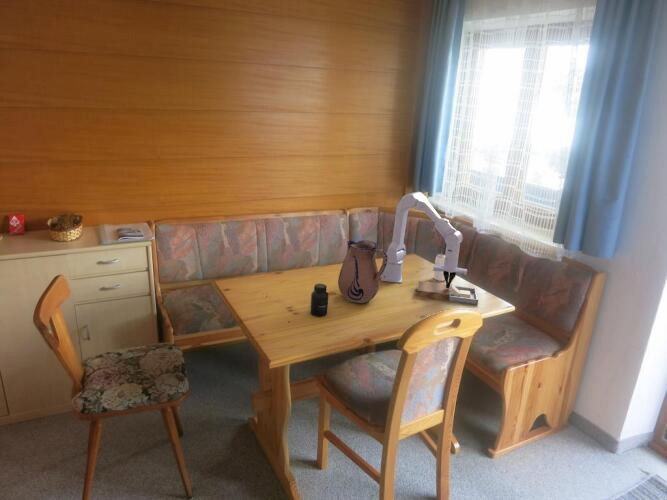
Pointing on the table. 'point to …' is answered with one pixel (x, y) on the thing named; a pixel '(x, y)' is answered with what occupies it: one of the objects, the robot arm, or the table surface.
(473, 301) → the tray
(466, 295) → the tile
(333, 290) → the table surface
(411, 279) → the table surface
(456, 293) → the tile
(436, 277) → the can
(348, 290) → the ceramic pitcher
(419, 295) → the brown board
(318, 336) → the table surface
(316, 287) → the supplement bottle
